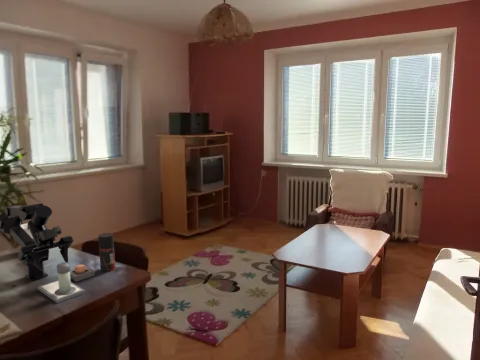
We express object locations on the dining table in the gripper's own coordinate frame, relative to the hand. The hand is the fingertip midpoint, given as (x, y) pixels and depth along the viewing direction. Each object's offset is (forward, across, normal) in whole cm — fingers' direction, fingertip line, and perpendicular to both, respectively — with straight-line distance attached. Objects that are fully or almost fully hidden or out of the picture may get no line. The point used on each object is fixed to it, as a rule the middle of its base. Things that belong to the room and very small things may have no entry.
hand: (55, 266), depth 140 cm
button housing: (+3, +12, +10) cm, 16 cm away
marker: (+10, 0, +1) cm, 10 cm away
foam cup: (-28, +11, +42) cm, 52 cm away
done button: (+2, +12, +9) cm, 15 cm away
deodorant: (+5, +23, +8) cm, 25 cm away
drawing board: (+8, 0, +4) cm, 9 cm away
